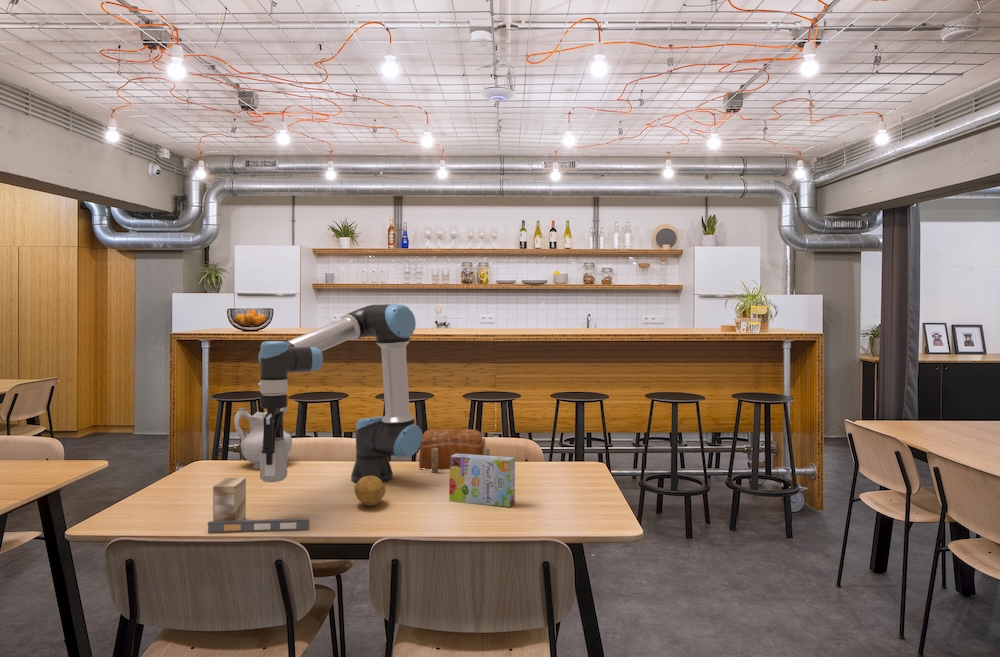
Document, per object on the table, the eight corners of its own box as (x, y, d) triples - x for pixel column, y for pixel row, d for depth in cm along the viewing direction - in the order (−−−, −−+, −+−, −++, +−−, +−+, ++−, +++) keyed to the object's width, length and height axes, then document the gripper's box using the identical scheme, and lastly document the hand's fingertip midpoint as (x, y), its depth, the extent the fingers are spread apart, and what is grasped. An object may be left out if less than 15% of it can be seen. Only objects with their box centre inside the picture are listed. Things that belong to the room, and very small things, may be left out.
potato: (348, 511, 196) (348, 480, 196) (361, 499, 209) (361, 471, 209) (378, 512, 195) (379, 481, 195) (389, 500, 209) (389, 471, 209)
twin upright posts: (485, 461, 268) (485, 437, 268) (489, 474, 245) (490, 448, 245) (431, 462, 265) (431, 438, 265) (431, 475, 243) (431, 449, 243)
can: (292, 477, 188) (292, 437, 188) (278, 483, 181) (278, 441, 181) (269, 476, 190) (269, 436, 190) (254, 482, 183) (254, 440, 183)
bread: (484, 471, 250) (484, 431, 250) (417, 472, 249) (418, 432, 249) (484, 463, 264) (484, 426, 264) (420, 464, 263) (420, 426, 263)
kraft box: (245, 518, 189) (245, 477, 189) (235, 529, 179) (235, 486, 178) (224, 518, 188) (224, 478, 188) (212, 529, 178) (212, 486, 178)
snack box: (515, 503, 205) (515, 456, 205) (510, 508, 200) (510, 460, 200) (455, 497, 212) (455, 452, 212) (448, 501, 207) (448, 455, 207)
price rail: (309, 528, 180) (309, 518, 180) (308, 530, 178) (308, 520, 178) (209, 531, 177) (209, 521, 177) (207, 533, 175) (207, 523, 175)
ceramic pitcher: (256, 476, 241) (256, 410, 240) (224, 470, 251) (224, 407, 251) (301, 465, 259) (301, 404, 259) (270, 460, 269) (270, 401, 269)
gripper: (269, 390, 195) (269, 465, 195) (250, 398, 175) (250, 481, 175) (294, 390, 196) (294, 464, 196) (278, 397, 176) (278, 480, 176)
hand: (273, 472), depth 185 cm, fingers closed on can, 7 cm apart
